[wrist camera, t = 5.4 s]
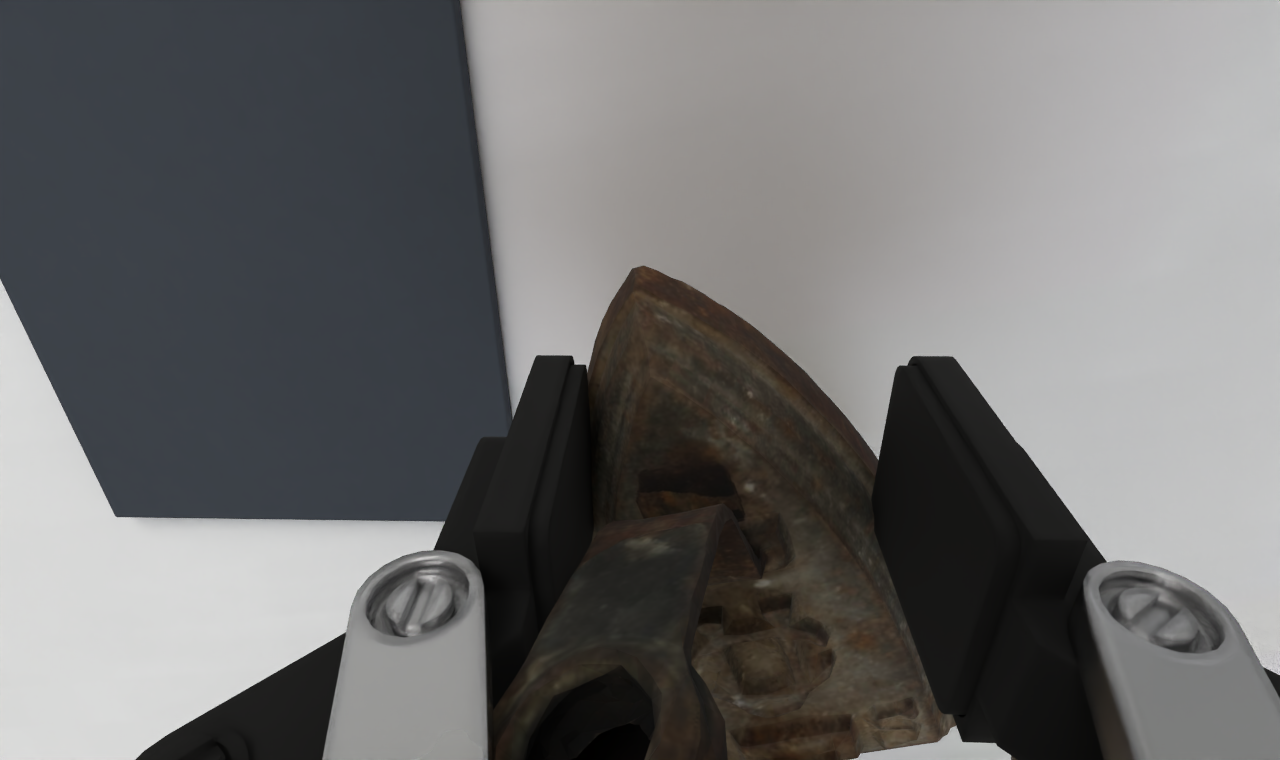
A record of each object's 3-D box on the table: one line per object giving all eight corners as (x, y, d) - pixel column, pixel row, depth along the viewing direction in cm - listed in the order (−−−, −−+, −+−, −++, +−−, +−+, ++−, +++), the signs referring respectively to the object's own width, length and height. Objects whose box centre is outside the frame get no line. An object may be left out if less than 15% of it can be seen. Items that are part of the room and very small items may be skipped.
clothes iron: (663, 732, 17) (507, 1439, 8) (496, 293, 14) (-59, 582, 5) (969, 704, 15) (1249, 1609, 6) (846, 185, 12) (1008, 330, 3)
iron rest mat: (-225, -240, 15) (-258, -248, 14) (427, -265, 14) (417, -275, 14) (127, 506, 24) (115, 517, 24) (524, 511, 24) (520, 523, 23)
